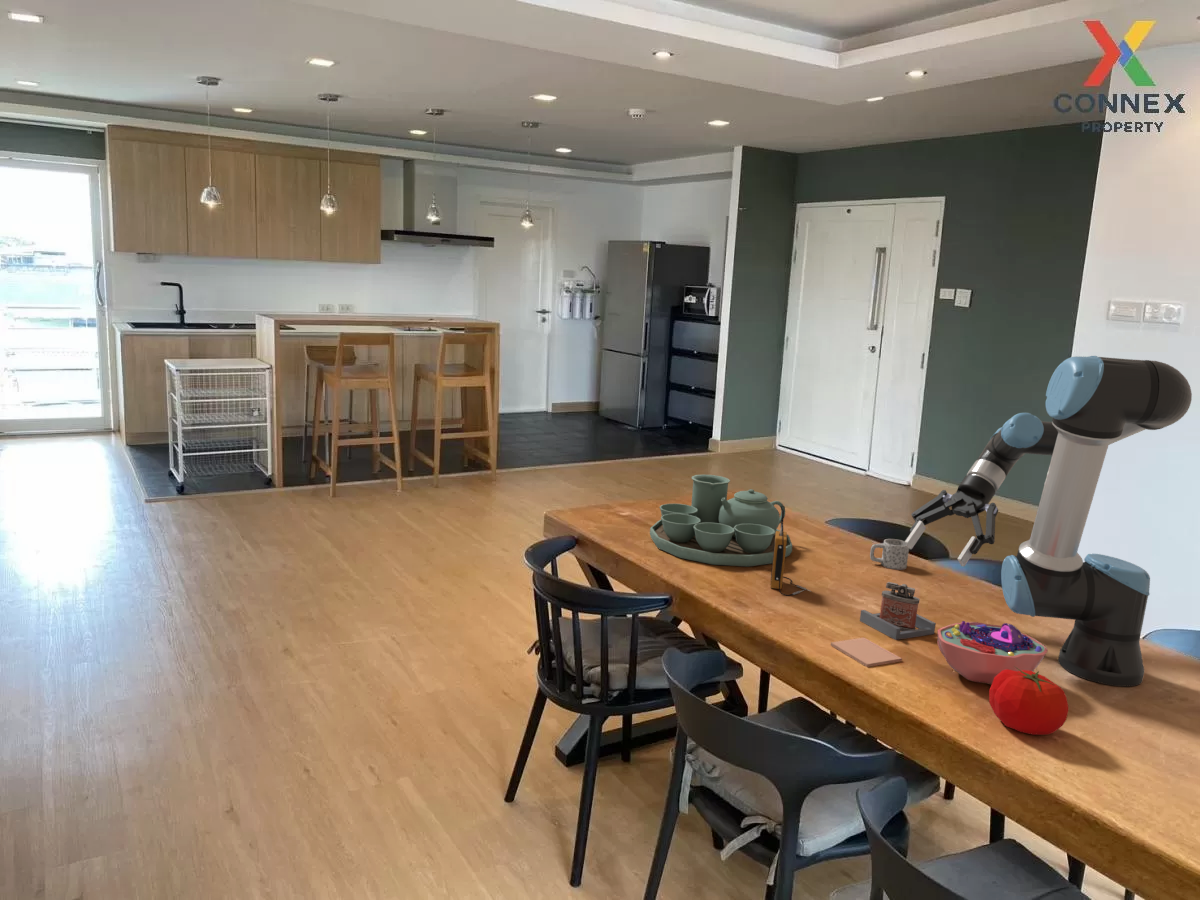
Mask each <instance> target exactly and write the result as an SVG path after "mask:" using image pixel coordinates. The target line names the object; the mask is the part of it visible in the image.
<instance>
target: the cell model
mask: <svg viewBox="0 0 1200 900" xmlns="http://www.w3.org/2000/svg"><path fill="white" fill-rule="evenodd" d="M937 646H938V649H939V651H940V653H941V654H942V656H943V657H944V659H945V661H946V663H947V664H948V666H949V667H950V668H951V669H953V670H954V671H955V672H956V673H958V674H960V675H961V676H962V677H963V678H965V679H966V680H967V681H971V682H974V683H978V684H979V683H981V684H982V683H983V684H988V685H992V682H993V680H994V677H995V676H996V675H998V674H999V673H1000V672H1001V671H1002V670H1006V669H1008V670H1013V671H1019V670H1028V671H1032V672H1035V670H1036V669H1037V667H1038V666H1039V665H1040V664H1041V662H1042V661H1043V659H1044V658H1045V656H1046V654H1047V653H1048V648H1047V646H1045V645H1044V644H1043V643H1041V641H1038V640H1037V639H1036V638H1034V637H1032V636H1030V635H1028V634H1026V633H1023V632H1021V630H1019V628H1017V626H1015V625H1013V624H1011V623H1007V622H1004V623H1002V625H997V624H988V623H982V622H979V621H965V620H962V621H961V622H956V623H951V624H948V625H946V626H943V627H940V628H938V629H937ZM1014 666H1015V667H1014ZM1017 668H1018V669H1019V670H1018V669H1017Z"/></svg>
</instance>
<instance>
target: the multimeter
mask: <svg viewBox="0 0 1200 900" xmlns="http://www.w3.org/2000/svg"><path fill="white" fill-rule="evenodd" d="M783 507H784V510H785V511H786V507H785V505H783ZM781 510H782V518H781V523H780V531H776V534H775V543H774V552H773V562H772V563H771V565H772V566H771V575H770V588H771V589H773V590H774V589H776V590H779V594H781V595H783V596H786V597H790V596H794V595H797V594H801V592H803V591H809V592H812V591H811V590H810V589H808V588H806V587H803V586H801V585H798V584H797V585H796V584H794V583H792V582H793V580H792V579H791V578H790V577H787V576H784V571H785V561H786V557H785V553H786V543H787V535H788V532H787V531H784V519H785V517H784V510H783V509H782V506H781V508H780V511H781ZM784 579H788V580H789V581H790V582H789V584H790V585H792V586H796V588H800V589H802V590H798V591H795V592H793V593H790V594H786V593H782V591H781V590H782V589H783V583H784V582H783V581H784Z"/></svg>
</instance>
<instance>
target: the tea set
mask: <svg viewBox="0 0 1200 900" xmlns="http://www.w3.org/2000/svg"><path fill="white" fill-rule="evenodd" d="M691 480H692V481H693V482H692V495H691V504H690V505H689V504H683V503H665V504H661V505H660V506H659V510H660V514H661V515H660V519H659V520H657V521H656V522H655V523H654V524H653V525H652V526H650V528H649V536H650V538H651V540H652V541H653V543H654V544H655V546H656V548H657V549H659V550H661V551H664V552H666V553H668V554H671V555H672V556H675V557H677V558H679V559H684V560H689V561H693V562H699V563H703V564H707V565H713V566H731V567H754V566H763V565H772V562H773V552H774V543H775V534H776V531H780V530H781V529H780V530H779V529H778V527H779V525H781V518H782V510H781V506H782V509H783V510H784V507H785V506H784V504H783V503H782V502H781V501H779V500H773V501H768V496H767V495H766V494H764V493H762V492H758V491H755V489H751V488H750V489H748V490H740V491H737V492H735V493H734V495H733V497H732V498H730V499H728V498H727V497H728V489H729V488H728V487H729V483H730V482H731V480H730V479H729V478H728V477H725V476H723V475H714V474H695V475H692V476H691ZM775 505H777V506H779V508H780V511H781V512H780V513H779V510H778V509H777V507H775ZM783 506H784V507H783ZM785 516H786V509H785V510H784V518H785ZM792 552H793V543H792V540H791V537H790V535H789V534H787V543H786V553H785V558H787V557H789V556H790V555H791V553H792Z"/></svg>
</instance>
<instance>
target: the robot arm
mask: <svg viewBox="0 0 1200 900" xmlns="http://www.w3.org/2000/svg"><path fill="white" fill-rule="evenodd" d="M1192 395H1193V394H1192V389H1191V385H1190V384H1189V381H1188V379H1187V378H1186V377H1185V376H1184V375H1183V373H1181V371H1180V370H1178V369H1177V368H1175V367H1174V366H1171V365H1170V364H1167V363H1165V362H1162V361H1159V360H1150V359H1149V360H1148V359H1144V360H1143V359H1132V358H1131V359H1129V358H1115V357H1106V356H1097V355H1089V356H1071V357H1068V358H1066V359H1064V360H1063V361H1062V362H1061V363H1060V364H1059V365H1058V366H1057V367H1056V368H1055V369H1054V372H1053V373H1052V375H1051V377H1050V379H1049V382H1048V385H1047V389H1046V392H1045V397H1046V400H1045V409H1046V413H1047V415H1049V417H1051V418H1052V421H1044V420H1043V421H1042V420H1041V419H1040V418H1039V417H1038V416H1036V415H1033V414H1032V413H1030V412H1018V413H1017V414H1014V415H1013V416H1011V418H1009V419H1008V420H1006V421H1005V423H1003V425H1002V427H999V428H998V429H997V430H996V431H995V432H994V433H993V434H992V436H990V438H989V440H988V442H987V444H986V445H985V446H984V449H983V450H982V452H981V453H980V454H979V457H977V459H976V460H975V461H974V463H973V464H972V465H971V467H970V468H969V470H968V472H967V473H966V476H964V477H963V479H962V481H961V482H960V483H959V484H958V487H957V488H956V489H957V490H956V491H955V492H954V494H951V493H948V492H947V490H946V489H943V490H941V491H940V492H939V493H938V495H937V496H935V497H934V498H932V499H931V500H930V501H928V502H926V503H925V504H923V505H921V506H920V507H919V508H918V509H916V510H914V511H913V512H911V514H910V515H911V517H912V518H913V521H914V523H913V524H912V526H911V527H910V529H909V532H910V533H909V535H908V536H907V537H906V539H905V540H904V541H905V543H906V545H907V546H908V548H909V550H912V549H914V546H915V545H916V544H917V542H918V541H919V539H920V538H921V536H922V535H923V533H924V532H925V531H926V525H929V524H932V523H934V522H935V521H938V520H940V519H942V518H945V517H948V516H953V515H955V516H958V517H964V518H965V519H969V518H970V519H971V521H972V524H973V528H974V529H973V530H974V532H975V536H971V537H970V539H969V541H968V542H967V543H966V544H965V546H964V547H963V549H962V550H961V553H960V554H959V556H958V557H957V561H958V562H959V565H960V566H961V567H964V568H965V566H966V565H967V563H968V561H969V560H970V559H971V557H972V556H973V555H977V554H978V552H979V551H980V549H981V548H982V546H983V545H984V544H989V545H994V544H995V542H996V541H995V537H996V536H995V535H996V517H997V515H998V513H999V509H998V507H997V504H996V502H991V501H992V499H993V498H994V496H995V495H996V492H997V491H998V490H999V489H1000V487H1001V485H1002V484H1003V482H1004V481H1005V479H1006V478H1007V476H1008V475H1009V473H1010V471H1011V470H1012V469H1013V467H1014V465H1016V463H1017V462H1018V461H1019V460H1020V459H1021V458H1022V457H1023V456H1025V455H1026V454H1029V455H1041V456H1051V458H1050V463H1049V466H1048V470H1047V473H1046V478H1045V481H1044V485H1043V488H1042V493H1041V496H1040V499H1039V504H1038V508H1037V512H1036V515H1035V518H1034V523H1033V527H1032V528H1031V535H1030V538H1029V539H1028V540H1026V541H1023V542H1021V543H1020V545H1018V551H1017V553H1016V555H1013V554H1011V555H1007V556H1006V557H1004V559H1003V561H1002V563H1001V571H1000V575H1001V576H1000V578H1001V588H1002V594H1003V598H1004V600H1005V603H1006V605H1007V606H1008V609H1010V610H1011V611H1012V612H1013V613H1015V614H1019V615H1023V616H1024V615H1025V616H1030V617H1033V618H1034V617H1042V618H1051V619H1052V618H1053V619H1064V620H1074V624H1073V628H1072V629H1071V632H1070V633H1069V634H1068V637H1067V638H1066V639H1065V641H1064V642H1063V644H1062V646H1061V648H1060V650H1059V654H1058V659H1057V660H1058V664H1059V665H1060V667H1062V668H1063V669H1064V670H1065V671H1067V672H1070V673H1071V674H1073V675H1075V676H1077V677H1080V678H1082V679H1086V680H1088V681H1091V682H1094V683H1098V684H1103V685H1108V686H1114V687H1135V686H1138V685H1140V684H1142V683H1143V681H1144V674H1145V666H1144V661H1143V656H1142V655H1143V654H1142V650H1141V645H1140V642H1141V641H1140V640H1141V636H1142V635H1141V633H1142V629H1143V625H1144V619H1145V614H1146V613H1145V612H1146V608H1147V603H1148V600H1149V599H1148V598H1149V596H1150V594H1151V593H1150V585H1151V576H1150V574H1149V573H1148V571H1146V569H1144V568H1143V567H1141V566H1138V565H1137V564H1134V563H1131V562H1129V561H1126V560H1124V559H1120V558H1117V557H1114V556H1109V555H1106V554H1101V553H1088V554H1087V555H1086V556H1085V557H1084V559H1083V558H1082V556H1081V555H1080V554H1079V553H1078V550H1079V546H1080V543H1081V541H1082V537H1083V533H1084V529H1085V526H1086V524H1087V523H1086V522H1087V519H1088V515H1089V512H1090V509H1091V506H1092V503H1093V499H1094V496H1095V492H1096V489H1097V486H1098V483H1099V480H1100V475H1101V472H1102V468H1103V465H1104V461H1105V460H1106V456H1107V451H1108V449H1109V446H1110V445H1112V444H1115V443H1116V442H1118V441H1121V440H1122V441H1123V440H1124V439H1126V438H1128V437H1131V436H1134V435H1136V434H1139V433H1140V432H1143V431H1145V430H1149V431H1157V430H1161V429H1164V428H1167V427H1168V426H1172V425H1174V424H1175V423H1178V421H1180V420H1181V419H1182V418H1183V417H1184V416H1185V415H1186V413H1188V411H1189V409H1190V407H1191V403H1192V397H1193V396H1192ZM990 502H991V503H990ZM950 508H951V509H950ZM984 511H986V516H985V517H986V518H985V534H984V532H983V529H982V525H981V519H980V516H979V514H980V513H983V512H984Z"/></svg>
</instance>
